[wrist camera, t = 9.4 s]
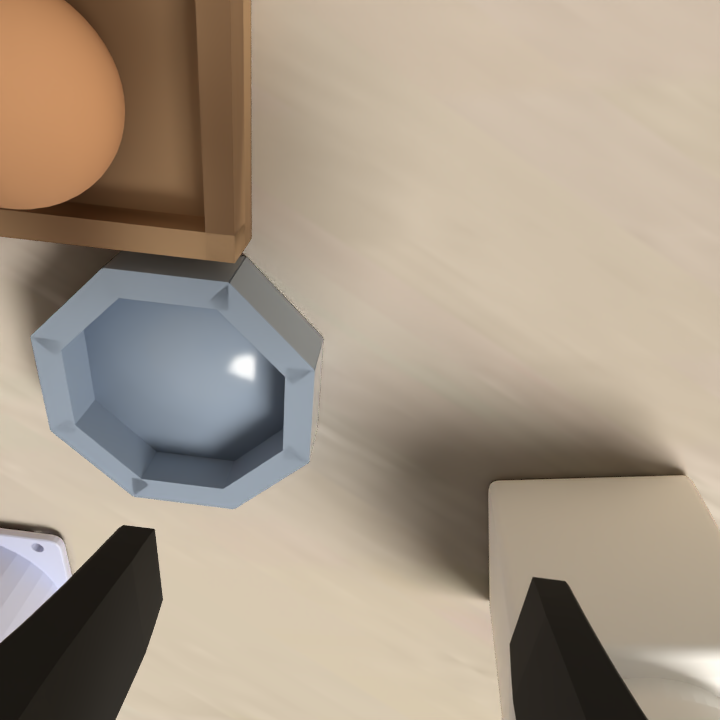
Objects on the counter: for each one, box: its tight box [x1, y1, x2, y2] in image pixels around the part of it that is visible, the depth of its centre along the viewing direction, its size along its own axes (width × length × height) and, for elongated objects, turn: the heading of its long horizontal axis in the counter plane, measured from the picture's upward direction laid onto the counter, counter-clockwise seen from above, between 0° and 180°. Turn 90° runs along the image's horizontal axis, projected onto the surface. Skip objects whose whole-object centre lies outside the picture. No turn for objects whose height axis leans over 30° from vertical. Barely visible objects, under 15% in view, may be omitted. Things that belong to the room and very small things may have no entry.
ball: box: [0, 0, 125, 209], centre depth 14 cm, size 5×5×5 cm
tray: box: [0, 0, 252, 263], centre depth 16 cm, size 10×8×2 cm
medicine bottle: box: [488, 475, 720, 720], centre depth 19 cm, size 7×7×12 cm
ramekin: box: [31, 251, 324, 509], centre depth 21 cm, size 9×9×2 cm
